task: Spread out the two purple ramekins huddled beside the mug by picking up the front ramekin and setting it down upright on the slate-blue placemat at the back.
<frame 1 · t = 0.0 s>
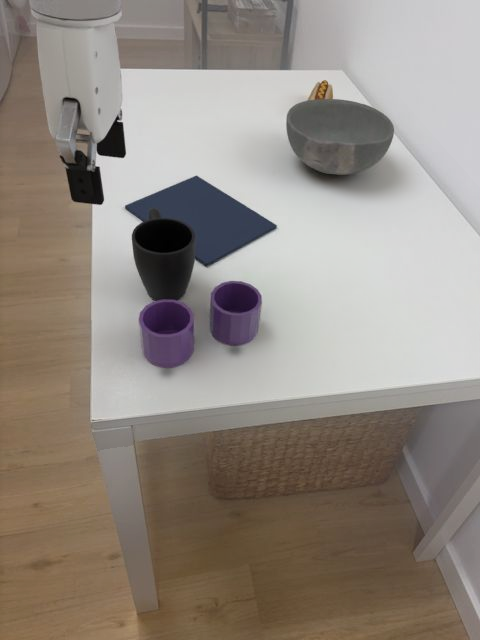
hand: (100, 177, 57), 20 cm above the table, tool pointing down, fingers open, 9 cm apart
food: (318, 112, 122), on the table
mug: (164, 282, 77), on the table
ramekin front: (168, 348, 68), on the table
ramekin back: (233, 328, 72), on the table
placemat: (201, 218, 88), on the table
bowl: (331, 168, 105), on the table
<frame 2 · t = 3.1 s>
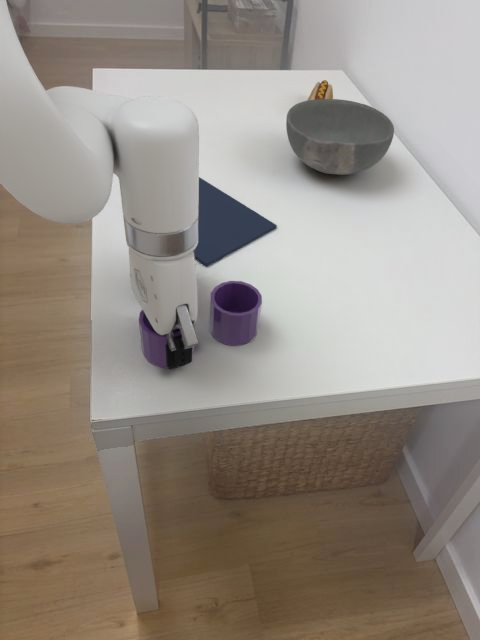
hand: (168, 343, 68), 1 cm above the table, tool pointing down, fingers closed on ramekin front, 6 cm apart
ramekin front: (168, 348, 68), on the table, touching gripper
everything else where it was.
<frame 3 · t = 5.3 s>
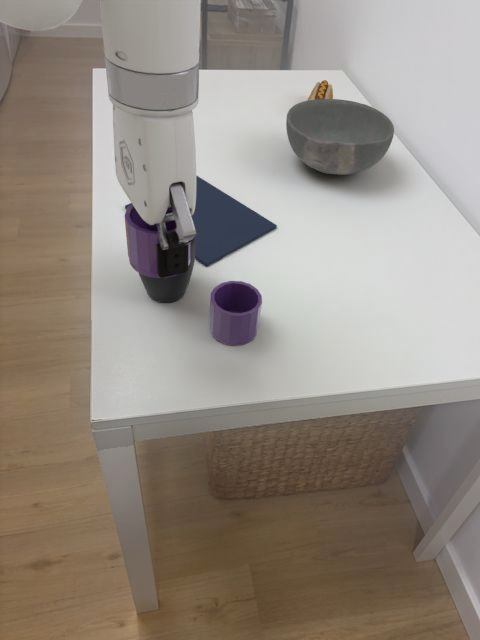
hand: (159, 251, 57), 15 cm above the table, tool pointing down, fingers closed on ramekin front, 6 cm apart
ramekin front: (160, 258, 58), point 14 cm above the table, touching gripper
everything else where it was.
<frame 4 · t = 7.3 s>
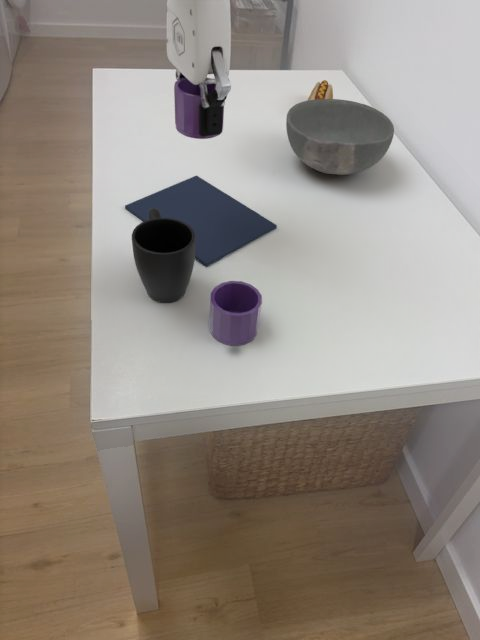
hand: (199, 121, 73), 18 cm above the table, tool pointing down, fingers closed on ramekin front, 6 cm apart
ramekin front: (199, 127, 74), point 17 cm above the table, touching gripper
everything else where it was.
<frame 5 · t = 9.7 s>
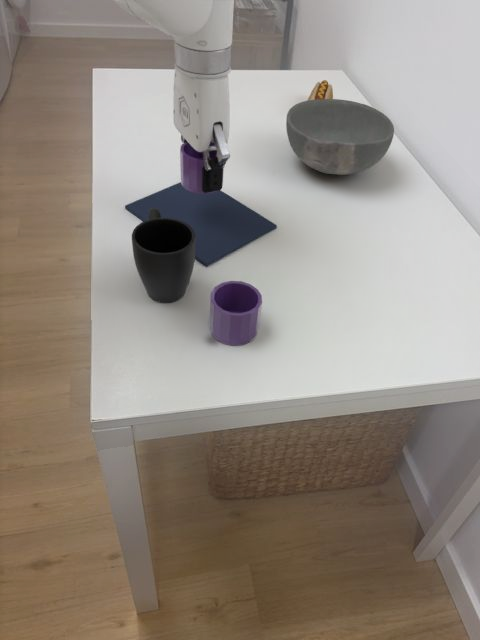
hand: (201, 177, 83), 8 cm above the table, tool pointing down, fingers closed on ramekin front, 6 cm apart
ramekin front: (202, 182, 84), point 7 cm above the table, touching gripper
everything else where it was.
when the fingers open (2 cm above the table, at t = 11.6 s): ramekin front stays where it is, resting on placemat.
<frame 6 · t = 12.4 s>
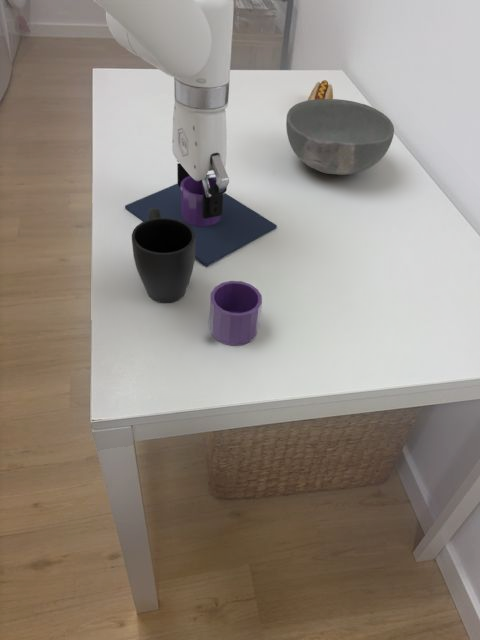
hand: (199, 200, 86), 4 cm above the table, tool pointing down, fingers open, 9 cm apart
ramekin front: (201, 215, 88), point 1 cm above the table, touching placemat
everything else where it was.
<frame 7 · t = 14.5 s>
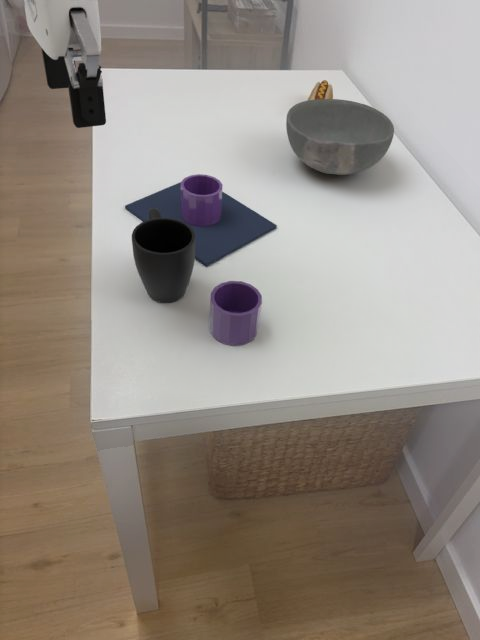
hand: (76, 105, 57), 25 cm above the table, tool pointing down, fingers open, 9 cm apart
nothing on the table moved.
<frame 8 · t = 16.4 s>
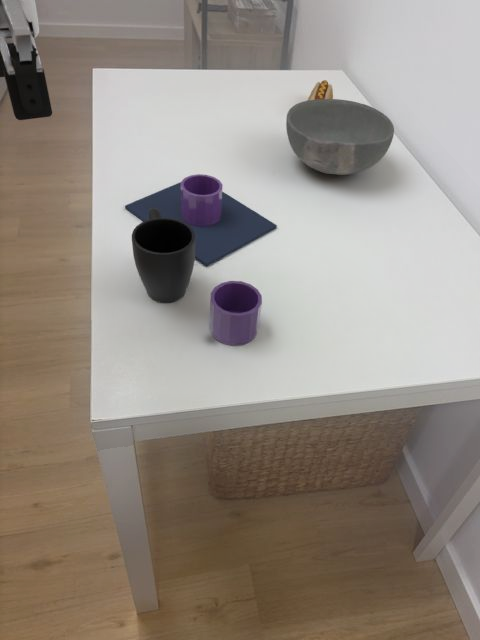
hand: (21, 94, 50), 28 cm above the table, tool pointing down, fingers open, 9 cm apart
nothing on the table moved.
at the end: ramekin front inside the target area on the placemat (0.1 cm from its centre), point 0.6 cm above the placemat's base; ramekin front tilted 0°; ramekin back moved 0.0 cm from its start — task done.
